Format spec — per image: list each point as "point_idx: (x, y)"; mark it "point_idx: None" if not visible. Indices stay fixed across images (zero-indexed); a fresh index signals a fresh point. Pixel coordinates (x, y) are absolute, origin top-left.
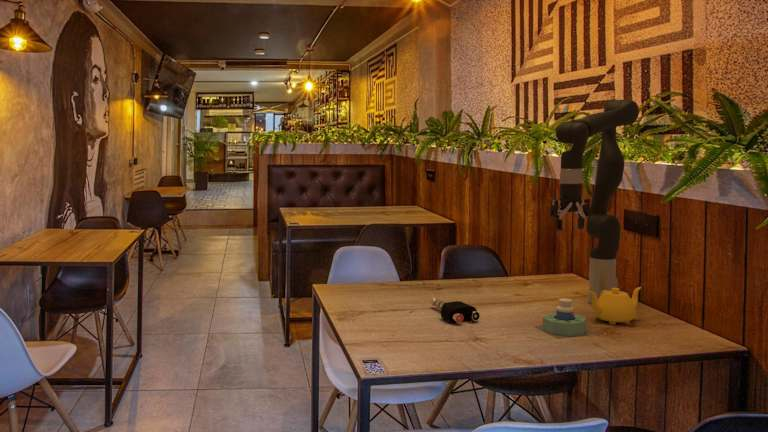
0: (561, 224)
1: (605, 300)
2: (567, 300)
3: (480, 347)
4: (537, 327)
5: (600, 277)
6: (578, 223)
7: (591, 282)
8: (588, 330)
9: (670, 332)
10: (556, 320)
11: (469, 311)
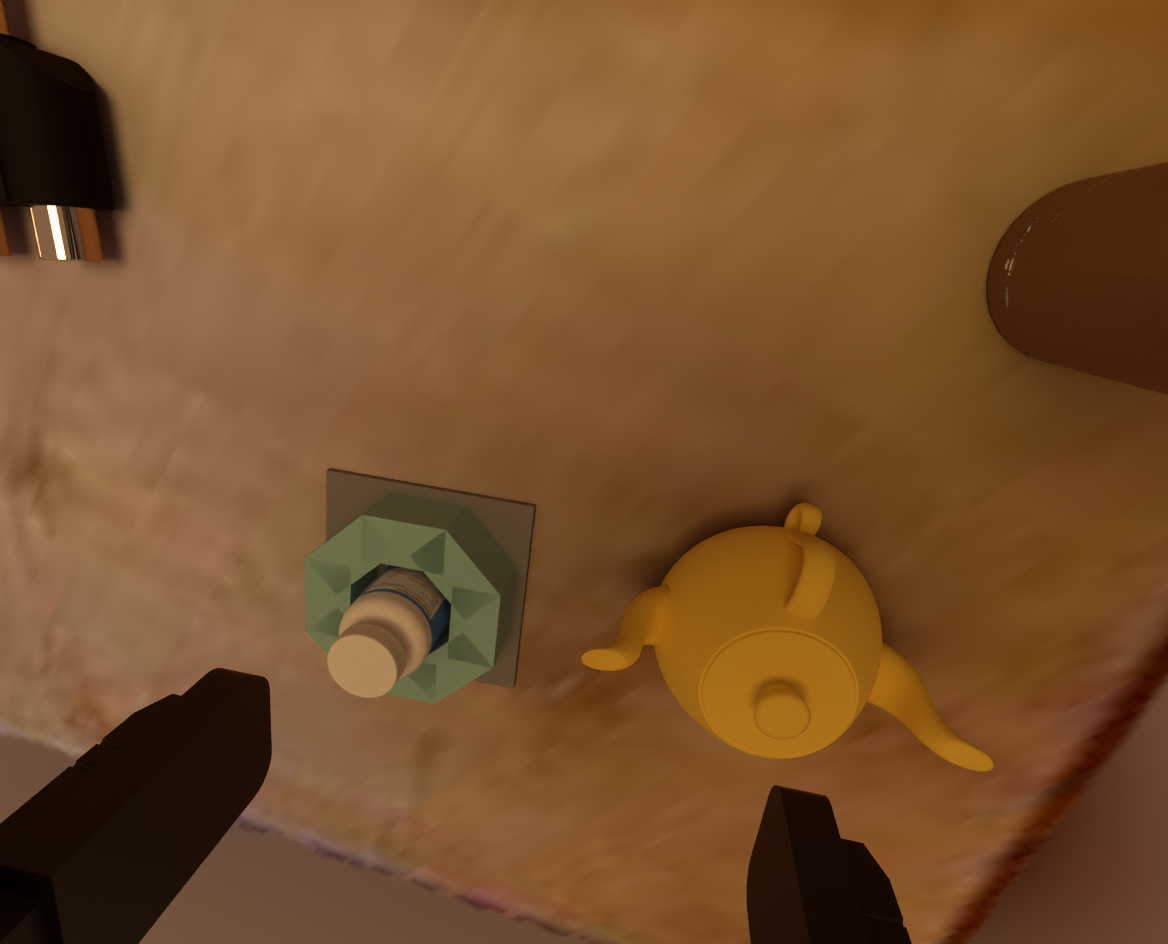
0: (163, 883)
1: (678, 675)
2: (362, 682)
3: (12, 558)
4: (336, 493)
5: (1124, 352)
6: (792, 905)
7: (1085, 256)
8: (516, 641)
9: None
10: (336, 624)
11: (30, 213)
